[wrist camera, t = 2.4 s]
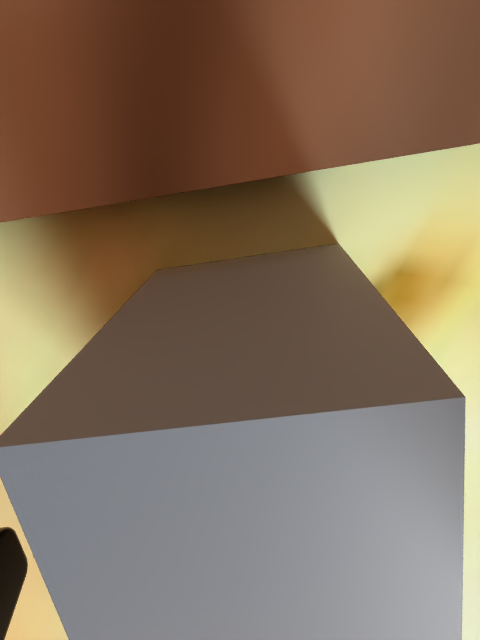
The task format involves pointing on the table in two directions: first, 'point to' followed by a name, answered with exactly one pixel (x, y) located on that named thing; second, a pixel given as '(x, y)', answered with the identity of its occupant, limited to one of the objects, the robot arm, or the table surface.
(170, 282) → the carton
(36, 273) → the table surface
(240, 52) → the shelf board
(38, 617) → the table surface
